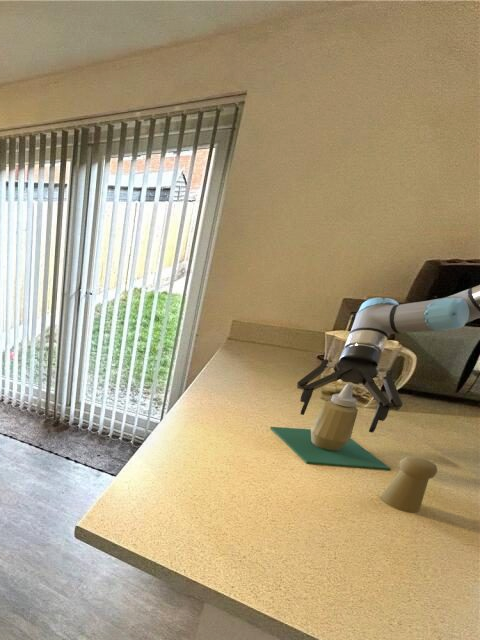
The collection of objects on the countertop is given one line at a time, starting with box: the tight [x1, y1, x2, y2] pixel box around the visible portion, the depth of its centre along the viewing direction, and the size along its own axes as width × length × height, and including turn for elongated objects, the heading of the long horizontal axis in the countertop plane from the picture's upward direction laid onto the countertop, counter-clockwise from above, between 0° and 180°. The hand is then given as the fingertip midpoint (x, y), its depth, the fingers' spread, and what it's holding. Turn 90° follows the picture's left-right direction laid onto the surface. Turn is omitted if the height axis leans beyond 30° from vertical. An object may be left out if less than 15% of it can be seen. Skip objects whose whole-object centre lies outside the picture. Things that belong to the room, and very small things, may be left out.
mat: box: [270, 426, 391, 471], centre depth 105 cm, size 18×18×1 cm
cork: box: [379, 455, 438, 513], centre depth 83 cm, size 6×6×11 cm
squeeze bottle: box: [310, 382, 359, 451], centre depth 101 cm, size 8×8×18 cm
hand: (335, 421), depth 100 cm, fingers open, 13 cm apart
